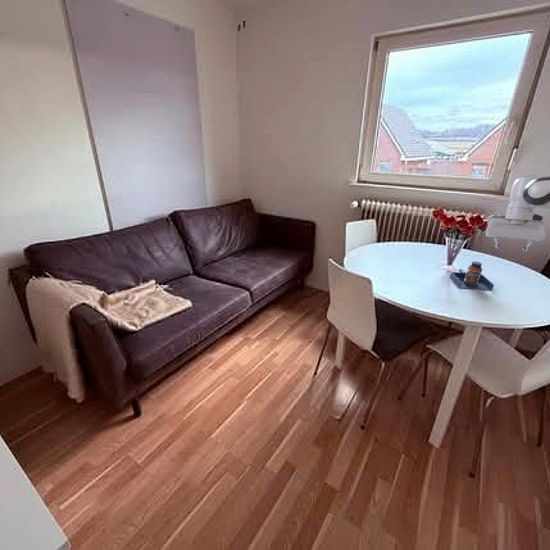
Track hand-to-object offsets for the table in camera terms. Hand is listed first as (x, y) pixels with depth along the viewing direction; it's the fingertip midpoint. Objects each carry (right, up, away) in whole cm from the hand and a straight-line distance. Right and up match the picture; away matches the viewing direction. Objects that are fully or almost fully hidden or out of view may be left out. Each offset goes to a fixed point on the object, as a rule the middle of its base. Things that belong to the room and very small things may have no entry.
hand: (510, 249), depth 131 cm
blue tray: (-2, -14, +27) cm, 30 cm away
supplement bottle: (-2, -15, +24) cm, 28 cm away
